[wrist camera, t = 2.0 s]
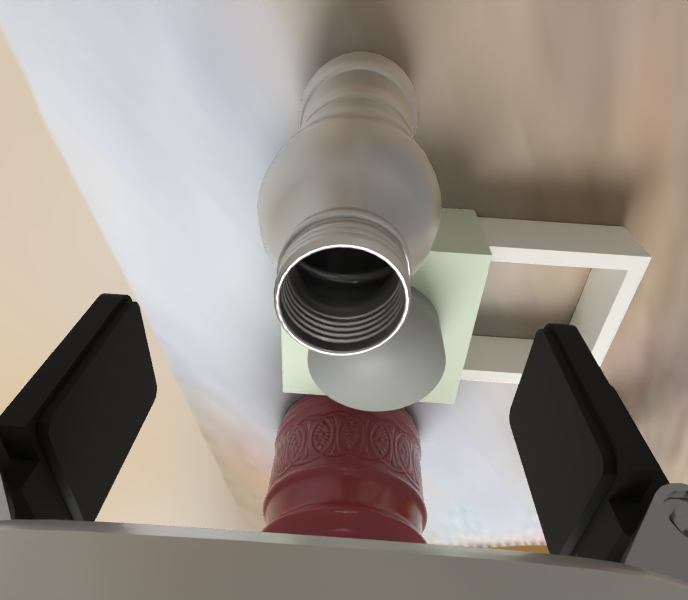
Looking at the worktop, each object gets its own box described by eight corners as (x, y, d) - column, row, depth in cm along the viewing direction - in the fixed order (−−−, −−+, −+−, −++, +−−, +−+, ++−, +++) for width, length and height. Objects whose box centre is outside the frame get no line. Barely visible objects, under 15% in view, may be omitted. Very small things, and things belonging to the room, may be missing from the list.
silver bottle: (437, 82, 28) (528, 261, 12) (376, 180, 32) (380, 423, 15) (338, 18, 27) (285, 123, 10) (285, 129, 30) (182, 339, 14)
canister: (402, 483, 50) (414, 698, 35) (274, 466, 49) (233, 678, 35) (434, 393, 42) (466, 620, 28) (284, 372, 42) (238, 592, 27)
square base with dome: (292, 197, 33) (269, 268, 25) (626, 220, 32) (701, 298, 25) (293, 337, 40) (276, 425, 32) (569, 357, 39) (614, 449, 32)
